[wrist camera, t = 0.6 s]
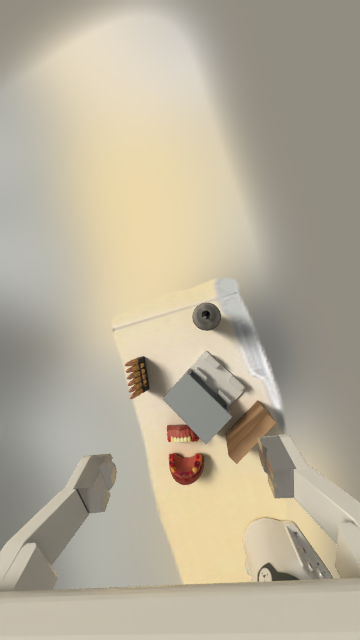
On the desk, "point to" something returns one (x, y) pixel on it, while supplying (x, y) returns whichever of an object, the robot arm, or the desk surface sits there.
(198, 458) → the teeth
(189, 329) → the desk surface
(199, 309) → the beverage cup
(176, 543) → the desk surface
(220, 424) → the cabinet
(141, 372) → the ammunition clip
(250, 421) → the door
